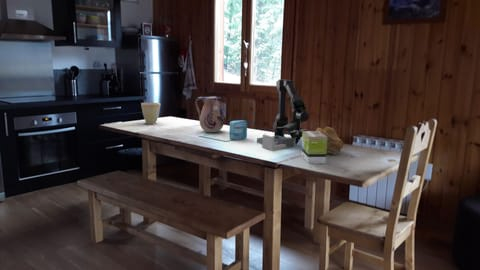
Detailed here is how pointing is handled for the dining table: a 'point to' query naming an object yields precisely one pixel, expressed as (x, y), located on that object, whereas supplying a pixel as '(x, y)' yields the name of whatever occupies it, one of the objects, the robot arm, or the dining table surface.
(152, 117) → the plant pot
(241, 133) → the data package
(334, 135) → the rough brown rock
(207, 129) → the ceramic pitcher
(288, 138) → the caddy
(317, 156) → the tea box
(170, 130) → the dining table surface
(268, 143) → the grey block
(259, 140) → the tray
